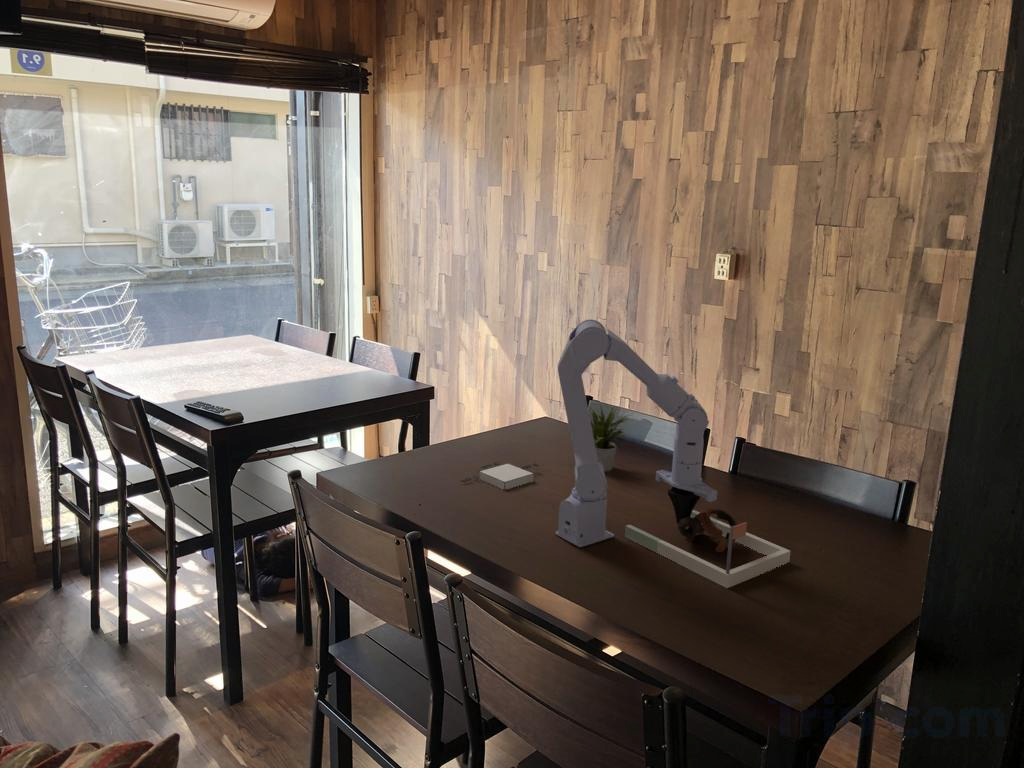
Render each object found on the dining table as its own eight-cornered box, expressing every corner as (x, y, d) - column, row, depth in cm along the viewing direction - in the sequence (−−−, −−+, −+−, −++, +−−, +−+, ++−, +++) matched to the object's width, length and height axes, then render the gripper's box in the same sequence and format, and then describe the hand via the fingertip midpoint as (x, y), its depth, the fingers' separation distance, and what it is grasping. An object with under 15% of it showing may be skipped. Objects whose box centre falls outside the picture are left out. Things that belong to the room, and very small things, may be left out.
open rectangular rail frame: (726, 588, 144) (732, 528, 141) (624, 537, 165) (628, 484, 162) (789, 562, 155) (795, 506, 152) (686, 517, 175) (690, 467, 172)
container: (487, 496, 186) (487, 486, 185) (456, 483, 194) (456, 472, 193) (549, 478, 199) (549, 467, 198) (518, 466, 207) (518, 456, 207)
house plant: (629, 482, 196) (632, 417, 192) (572, 476, 199) (575, 413, 195) (632, 463, 210) (636, 403, 206) (579, 458, 212) (582, 399, 209)
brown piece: (711, 532, 169) (732, 506, 165) (727, 568, 162) (749, 542, 158) (663, 524, 165) (683, 497, 160) (677, 561, 158) (699, 534, 153)
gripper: (729, 466, 157) (723, 531, 160) (674, 447, 168) (669, 507, 172) (705, 473, 153) (699, 539, 156) (650, 452, 164) (646, 514, 168)
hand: (682, 523), depth 164 cm, fingers closed
